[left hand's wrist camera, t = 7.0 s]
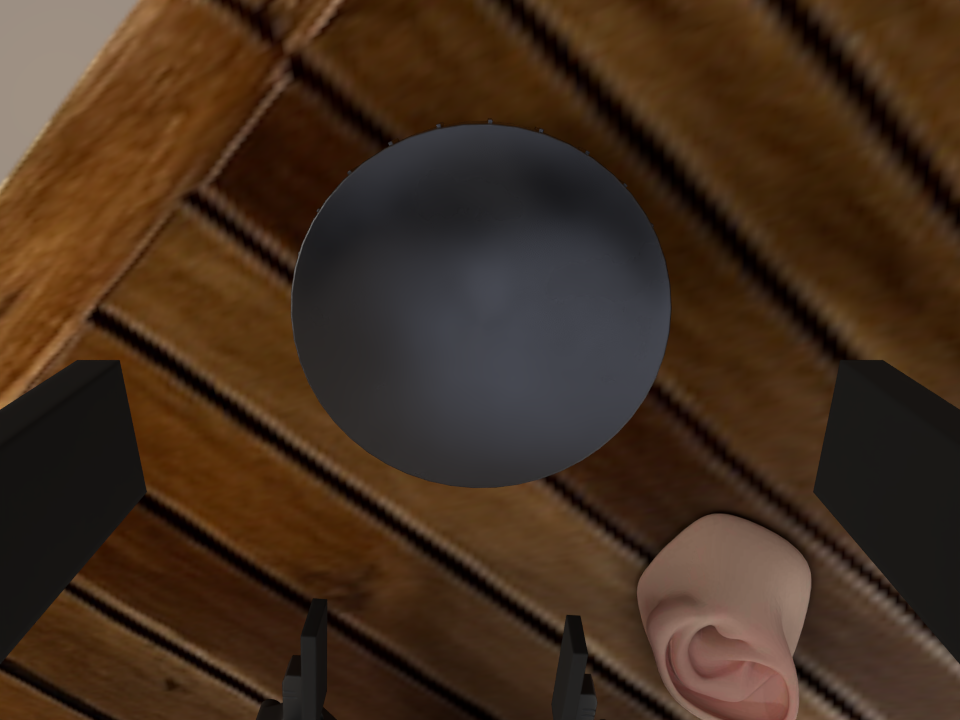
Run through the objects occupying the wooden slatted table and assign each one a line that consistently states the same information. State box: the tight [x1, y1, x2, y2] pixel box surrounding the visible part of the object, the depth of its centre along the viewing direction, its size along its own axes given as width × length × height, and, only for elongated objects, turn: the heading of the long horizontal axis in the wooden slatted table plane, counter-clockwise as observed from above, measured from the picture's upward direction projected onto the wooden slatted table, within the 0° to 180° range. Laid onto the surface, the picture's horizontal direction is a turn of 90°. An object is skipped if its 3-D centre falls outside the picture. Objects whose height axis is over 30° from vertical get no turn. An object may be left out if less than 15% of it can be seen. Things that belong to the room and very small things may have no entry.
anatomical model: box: [637, 513, 811, 720], centre depth 41 cm, size 13×4×12 cm
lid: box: [291, 118, 671, 488], centre depth 20 cm, size 11×11×2 cm
